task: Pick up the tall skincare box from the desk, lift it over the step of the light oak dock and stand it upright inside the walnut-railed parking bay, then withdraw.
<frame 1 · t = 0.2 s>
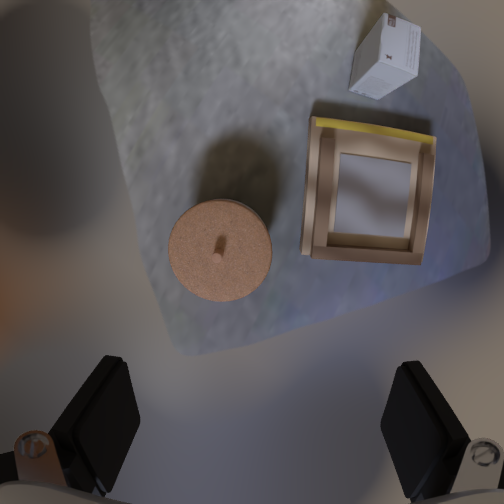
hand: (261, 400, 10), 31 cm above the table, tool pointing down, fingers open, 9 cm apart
dock: (367, 190, 38), on the table
lidded jar: (227, 236, 41), on the table
skincare box: (365, 74, 34), on the table
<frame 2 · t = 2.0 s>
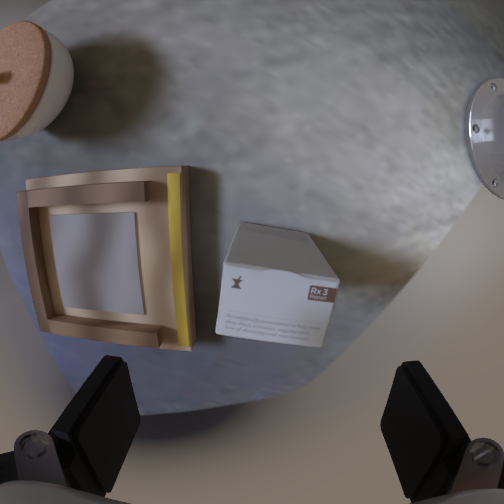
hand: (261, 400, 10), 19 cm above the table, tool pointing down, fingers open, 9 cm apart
dock: (111, 255, 29), on the table
lidded jar: (50, 90, 25), on the table
skincare box: (272, 247, 28), on the table
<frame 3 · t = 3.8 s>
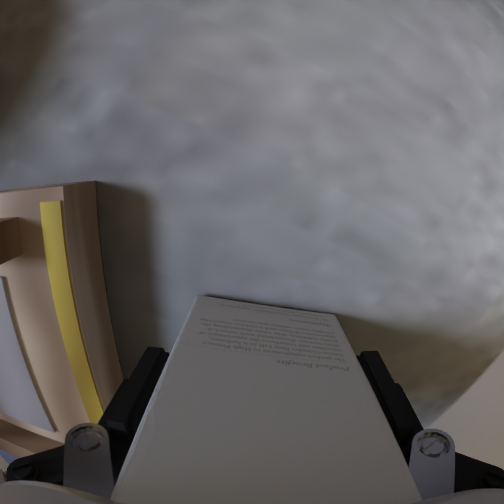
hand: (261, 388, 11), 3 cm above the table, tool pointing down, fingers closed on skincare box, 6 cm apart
dock: (5, 330, 15), on the table
skincare box: (263, 340, 14), on the table, touching gripper
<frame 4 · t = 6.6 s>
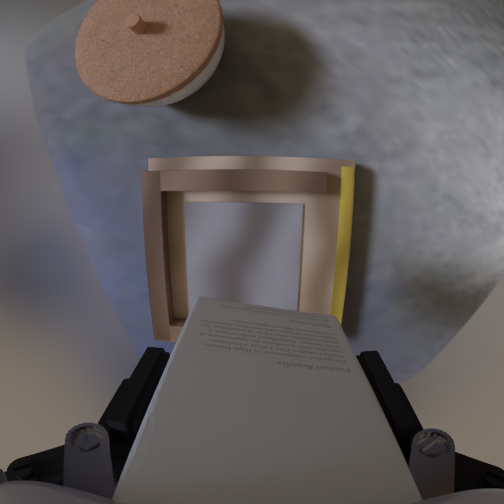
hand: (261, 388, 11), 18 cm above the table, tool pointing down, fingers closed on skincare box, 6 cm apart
dock: (250, 251, 28), on the table
lidded jar: (173, 60, 24), on the table
skincare box: (264, 341, 14), point 15 cm above the table, touching gripper
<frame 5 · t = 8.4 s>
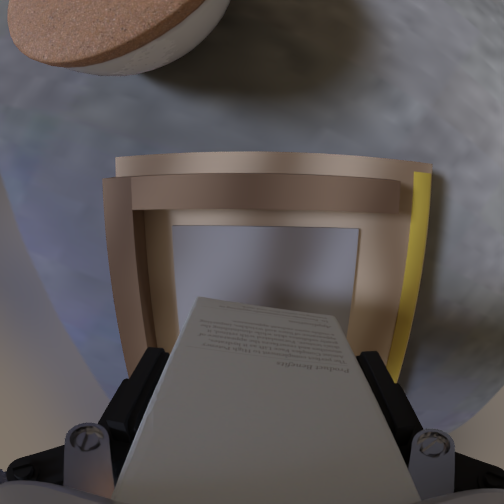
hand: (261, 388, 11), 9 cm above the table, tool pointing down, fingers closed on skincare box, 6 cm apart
dock: (272, 293, 19), on the table
lidded jar: (157, 17, 15), on the table
skincare box: (263, 341, 14), point 5 cm above the table, touching gripper
when the fingers open (7 cm above the table, at t = 9.6 s): skincare box drops 1 cm, resting on dock.
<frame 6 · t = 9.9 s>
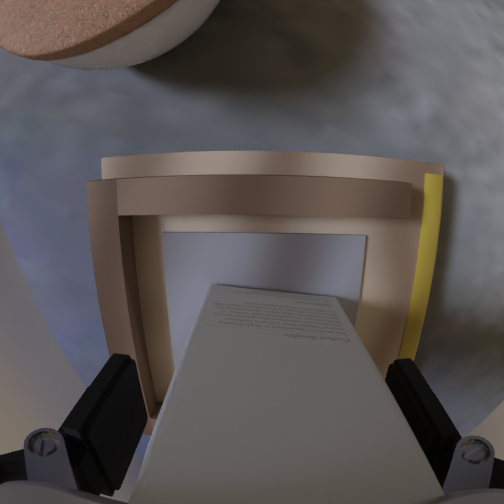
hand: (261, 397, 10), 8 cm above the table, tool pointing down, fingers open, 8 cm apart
dock: (271, 304, 18), on the table
lidded jar: (149, 8, 14), on the table
skincare box: (271, 324, 15), point 2 cm above the table, touching dock
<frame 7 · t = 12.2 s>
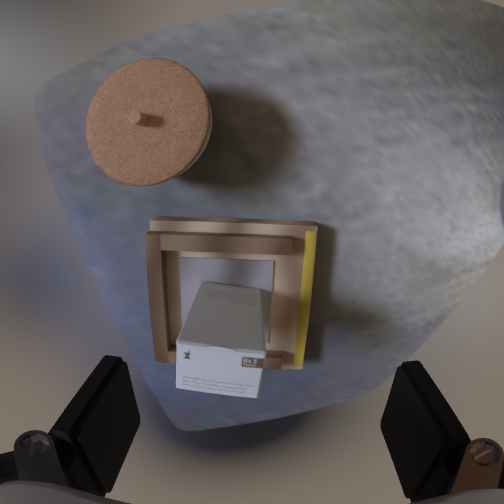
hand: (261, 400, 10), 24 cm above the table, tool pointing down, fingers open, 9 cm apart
dock: (232, 292, 35), on the table
lidded jar: (168, 129, 31), on the table
skincare box: (230, 301, 32), point 2 cm above the table, touching dock
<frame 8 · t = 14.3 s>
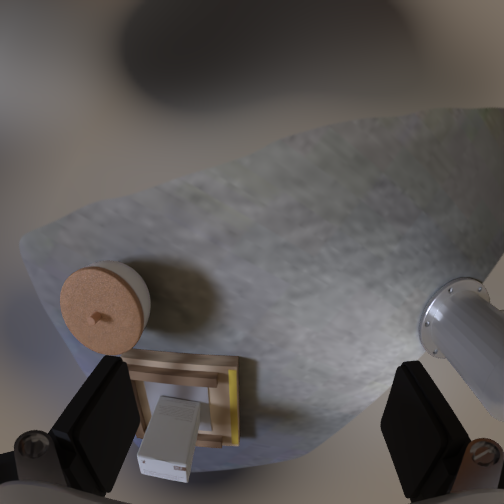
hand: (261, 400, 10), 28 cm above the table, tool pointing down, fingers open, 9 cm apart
dock: (185, 396, 44), on the table
lidded jar: (124, 289, 40), on the table
skincare box: (181, 406, 42), point 2 cm above the table, touching dock
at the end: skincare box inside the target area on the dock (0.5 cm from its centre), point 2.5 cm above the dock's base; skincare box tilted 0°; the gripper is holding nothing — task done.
